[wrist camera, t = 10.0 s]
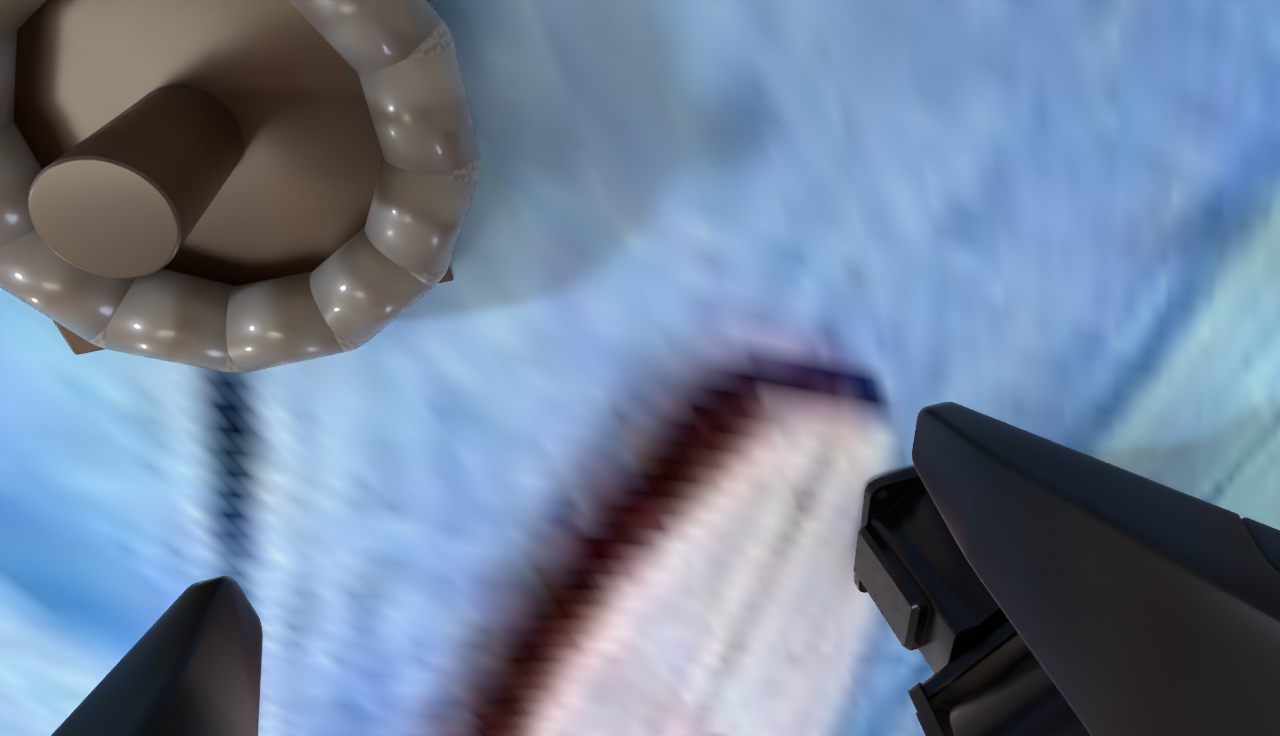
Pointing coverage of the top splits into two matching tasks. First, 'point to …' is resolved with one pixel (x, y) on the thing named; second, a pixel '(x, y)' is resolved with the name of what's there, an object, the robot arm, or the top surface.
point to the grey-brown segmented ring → (297, 304)
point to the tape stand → (192, 139)
